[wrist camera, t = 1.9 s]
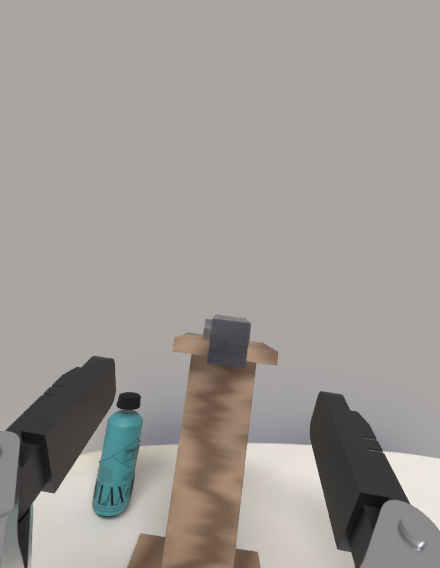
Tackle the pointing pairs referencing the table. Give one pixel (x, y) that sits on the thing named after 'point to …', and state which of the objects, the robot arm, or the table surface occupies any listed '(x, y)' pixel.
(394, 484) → the robot arm
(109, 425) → the beverage bottle
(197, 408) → the walnut pedestal
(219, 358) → the steel bar
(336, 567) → the table surface
